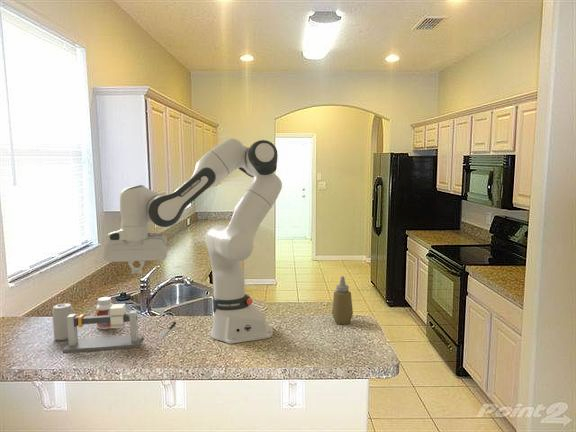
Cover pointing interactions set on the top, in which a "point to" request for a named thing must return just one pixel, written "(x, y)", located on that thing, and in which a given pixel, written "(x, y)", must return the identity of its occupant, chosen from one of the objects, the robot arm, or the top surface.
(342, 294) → the squeeze bottle
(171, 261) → the top surface
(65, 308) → the beverage can
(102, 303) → the pill bottle
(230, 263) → the robot arm
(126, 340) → the grey slider rail base
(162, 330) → the chef's knife
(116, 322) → the cream sliding block
